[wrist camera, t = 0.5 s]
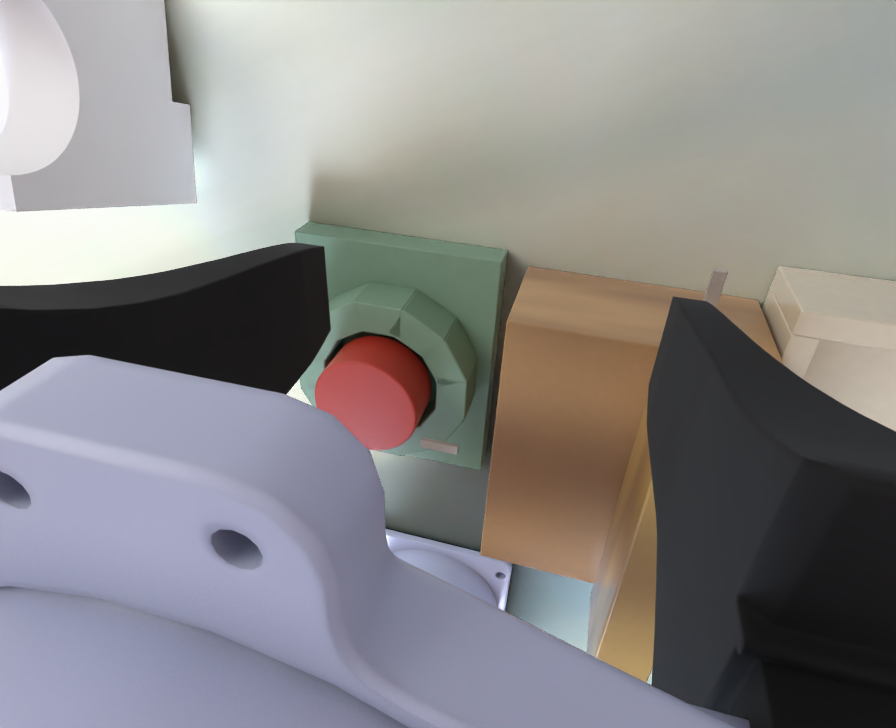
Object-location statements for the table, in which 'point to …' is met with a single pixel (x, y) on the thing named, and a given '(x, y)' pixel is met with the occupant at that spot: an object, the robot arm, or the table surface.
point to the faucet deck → (577, 410)
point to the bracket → (90, 107)
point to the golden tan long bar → (628, 572)
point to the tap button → (375, 391)
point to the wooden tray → (838, 336)
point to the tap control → (419, 323)
